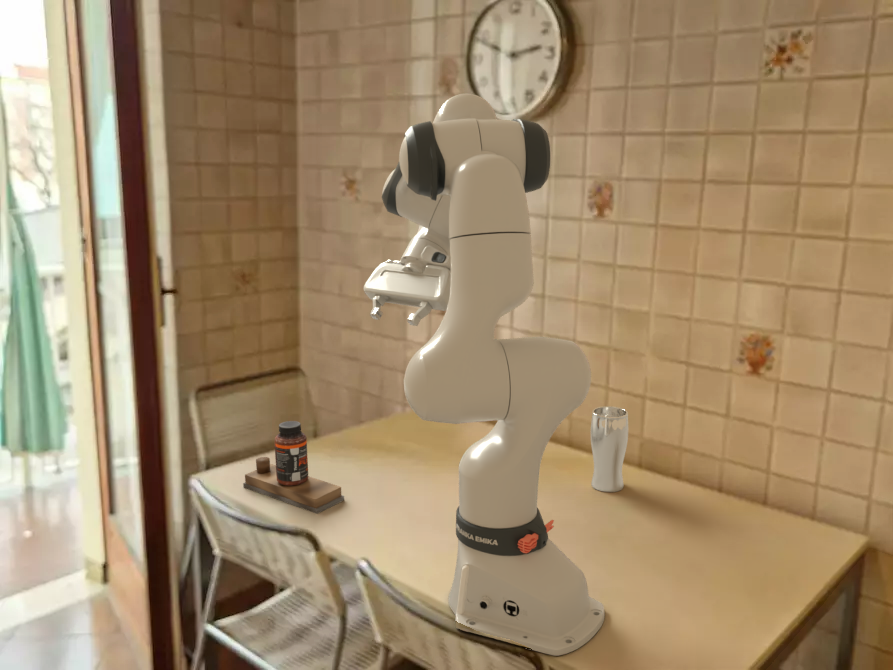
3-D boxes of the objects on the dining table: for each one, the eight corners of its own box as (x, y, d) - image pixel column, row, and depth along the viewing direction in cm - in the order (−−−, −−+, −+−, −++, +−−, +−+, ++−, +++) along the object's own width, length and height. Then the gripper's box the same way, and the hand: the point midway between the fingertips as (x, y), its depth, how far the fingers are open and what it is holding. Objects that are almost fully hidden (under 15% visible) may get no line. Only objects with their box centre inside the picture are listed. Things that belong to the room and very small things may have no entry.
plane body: (344, 500, 154) (342, 475, 153) (317, 513, 149) (315, 487, 148) (271, 475, 166) (269, 451, 165) (243, 487, 161) (241, 462, 159)
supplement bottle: (305, 487, 154) (302, 429, 151) (273, 487, 154) (269, 429, 151) (311, 474, 160) (308, 418, 157) (280, 474, 160) (277, 418, 157)
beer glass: (623, 479, 162) (626, 406, 159) (627, 494, 156) (631, 418, 152) (587, 477, 163) (590, 405, 160) (590, 492, 156) (592, 417, 153)
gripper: (376, 249, 168) (344, 305, 163) (457, 257, 156) (426, 317, 151) (390, 268, 173) (360, 323, 167) (471, 277, 161) (441, 336, 155)
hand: (392, 320), depth 159 cm, fingers open, 8 cm apart
